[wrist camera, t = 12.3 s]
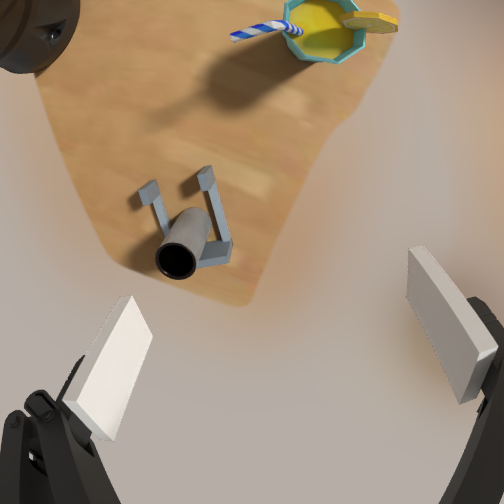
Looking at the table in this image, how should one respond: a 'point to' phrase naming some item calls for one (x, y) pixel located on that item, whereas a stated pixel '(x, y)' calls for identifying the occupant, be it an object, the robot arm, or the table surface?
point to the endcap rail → (222, 248)
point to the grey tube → (184, 244)
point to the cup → (323, 29)
